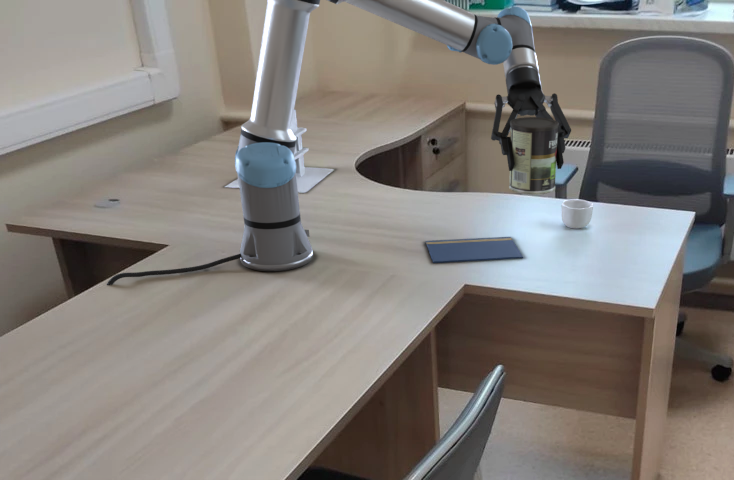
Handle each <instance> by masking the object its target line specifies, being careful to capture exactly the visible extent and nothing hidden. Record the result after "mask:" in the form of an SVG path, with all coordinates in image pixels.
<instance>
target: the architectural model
mask: <svg viewBox="0 0 734 480" xmlns="http://www.w3.org/2000/svg"><path fill="white" fill-rule="evenodd" d="M291 130H292V132H293V133H294V135H295V136H296V138H297V139H296V144H295V151H294V160H295V162H296V179H297V189H298V193H301V194H302V193H303V194H306V193H307V192H309V191H310V190H312V188H314V187H315V186H316V185H317V184H318V183H320V182H321V181H322V180H324V179H325V178H326V177H327V176H329V174H331V173H332V172H333V171H335V170H336V169H335V168H325V167H311V166H305V158H304V157H305V156H304V155H305V154H306V153H307V152H309V147H303V138H302V135H303V134H305V133H306V132H307V127H299V126H298V120H297V109H294V113H293V119H292V125H291ZM224 188H233V189H239V181H238V178H236V179H235V180H233V181H231V182H229V183H228V184H227V185H225V186H224Z"/></svg>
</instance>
